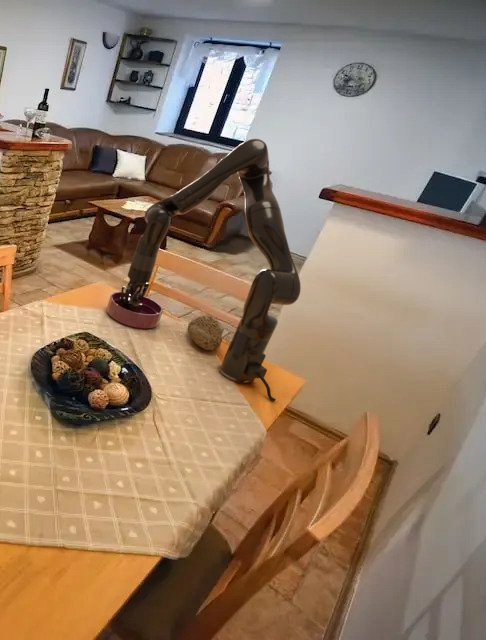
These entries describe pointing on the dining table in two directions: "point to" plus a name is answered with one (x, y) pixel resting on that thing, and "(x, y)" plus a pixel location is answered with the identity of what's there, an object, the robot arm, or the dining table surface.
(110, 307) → the bowl
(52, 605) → the dining table surface
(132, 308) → the eraser
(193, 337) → the sponge
